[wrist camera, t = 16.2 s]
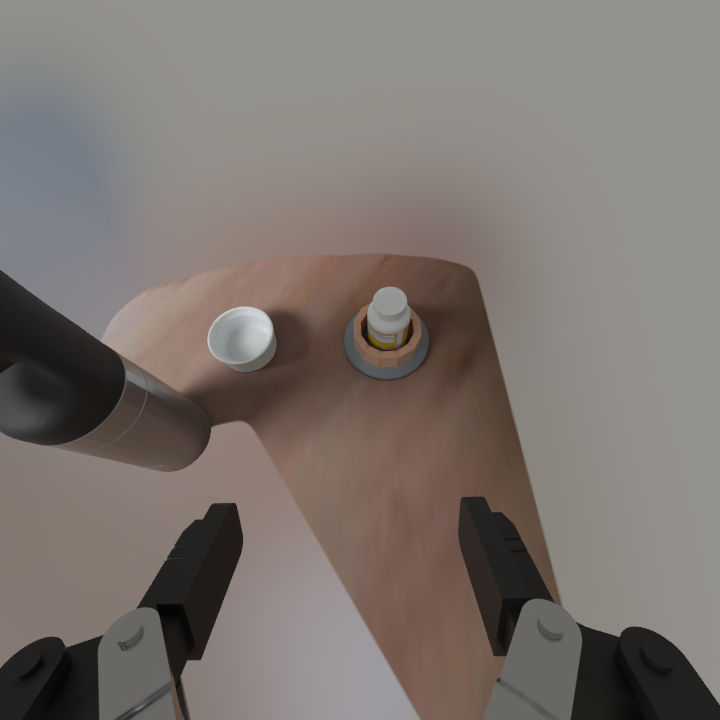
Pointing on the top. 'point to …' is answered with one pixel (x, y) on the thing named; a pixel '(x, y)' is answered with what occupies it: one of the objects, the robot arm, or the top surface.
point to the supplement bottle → (388, 319)
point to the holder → (385, 362)
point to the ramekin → (243, 339)
